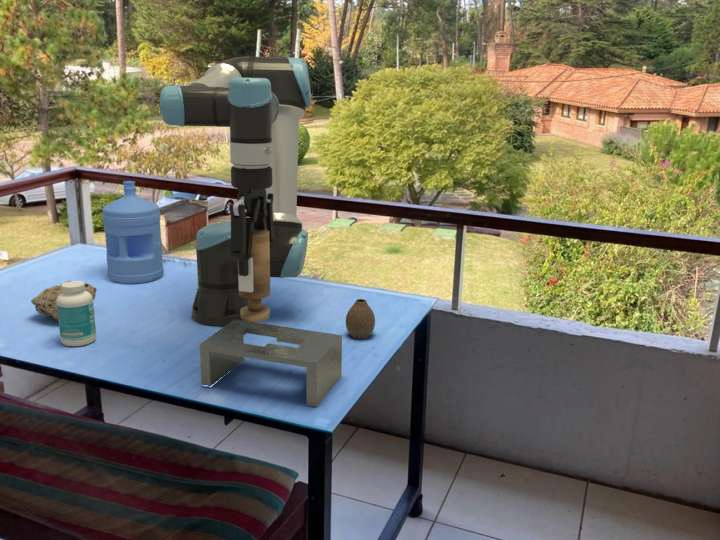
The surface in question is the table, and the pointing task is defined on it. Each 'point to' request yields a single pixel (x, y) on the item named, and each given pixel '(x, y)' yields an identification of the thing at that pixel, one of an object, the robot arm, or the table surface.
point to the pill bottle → (76, 314)
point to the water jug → (133, 238)
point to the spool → (258, 279)
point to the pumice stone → (54, 299)
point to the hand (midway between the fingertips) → (254, 285)
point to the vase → (360, 320)
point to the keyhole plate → (275, 354)
